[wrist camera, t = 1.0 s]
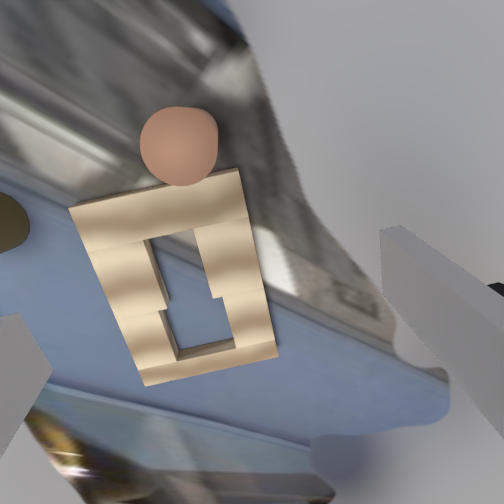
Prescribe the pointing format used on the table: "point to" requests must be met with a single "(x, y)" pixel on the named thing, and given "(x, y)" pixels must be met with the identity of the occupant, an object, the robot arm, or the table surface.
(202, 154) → the peg
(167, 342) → the keyhole board
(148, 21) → the table surface
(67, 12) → the table surface
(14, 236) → the cork
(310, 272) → the table surface
